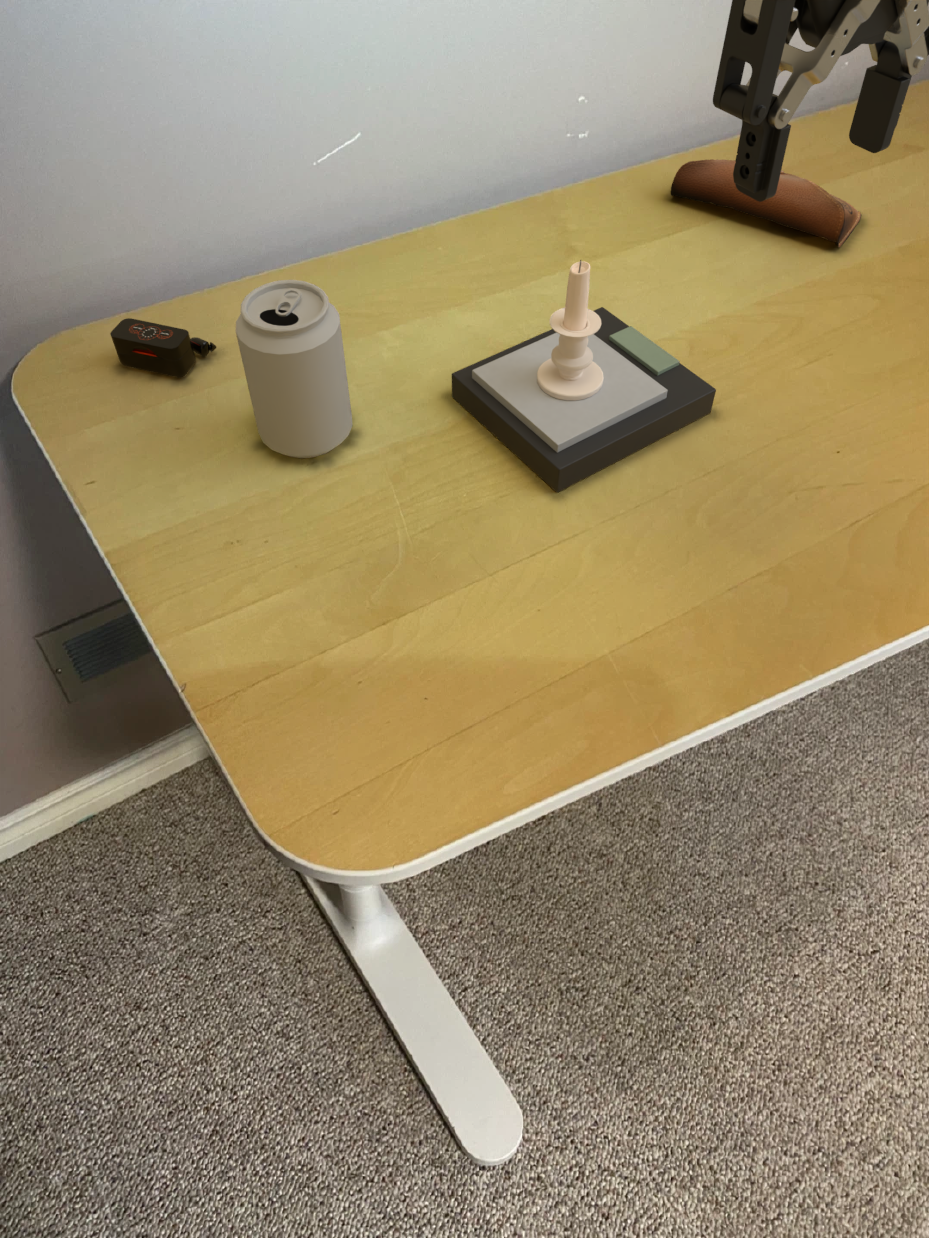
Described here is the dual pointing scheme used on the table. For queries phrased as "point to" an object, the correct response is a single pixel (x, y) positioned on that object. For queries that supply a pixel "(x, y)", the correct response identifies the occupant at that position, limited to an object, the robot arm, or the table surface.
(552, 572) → the table surface
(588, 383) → the candle
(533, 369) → the scale
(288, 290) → the can
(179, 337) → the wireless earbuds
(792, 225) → the sunglasses case
